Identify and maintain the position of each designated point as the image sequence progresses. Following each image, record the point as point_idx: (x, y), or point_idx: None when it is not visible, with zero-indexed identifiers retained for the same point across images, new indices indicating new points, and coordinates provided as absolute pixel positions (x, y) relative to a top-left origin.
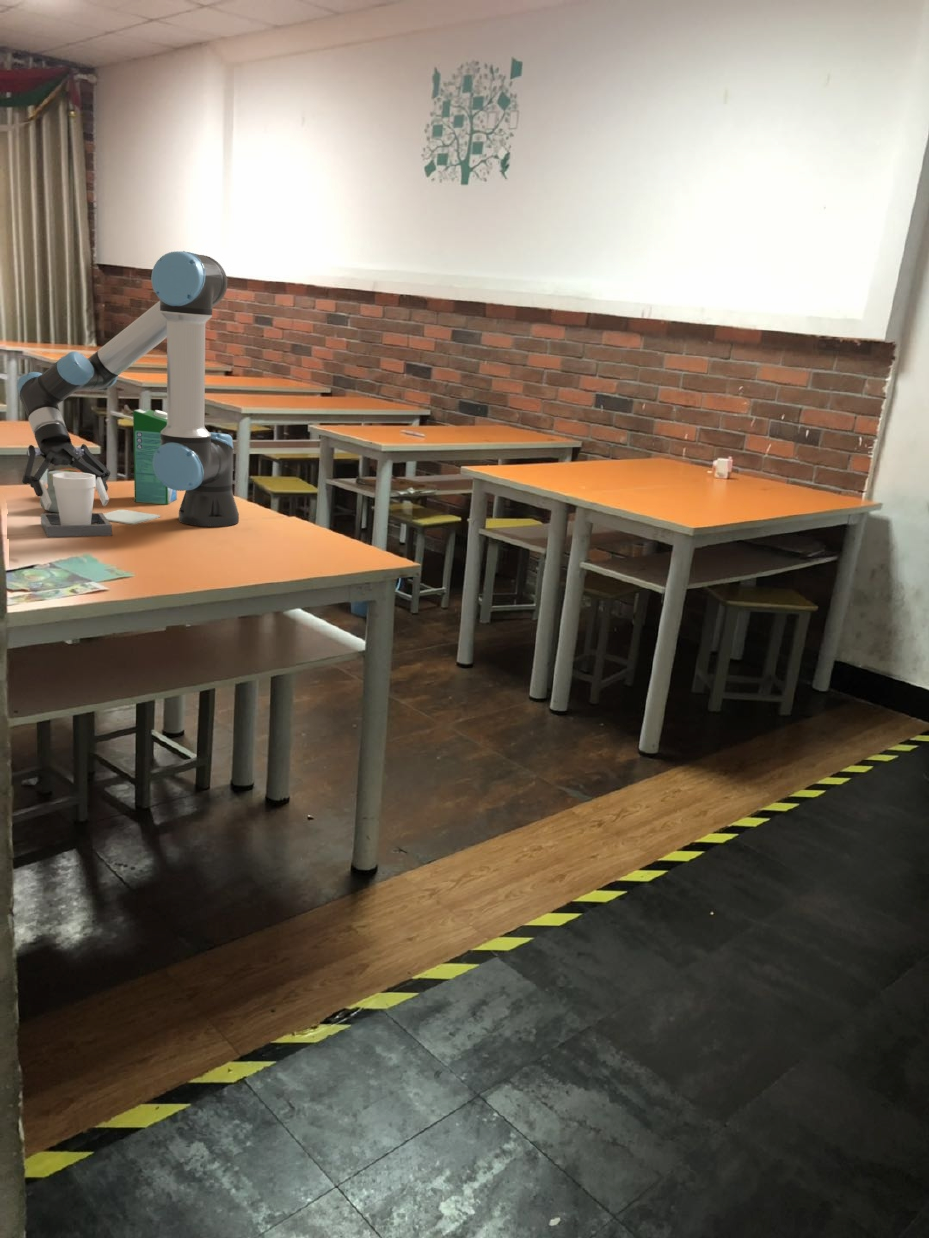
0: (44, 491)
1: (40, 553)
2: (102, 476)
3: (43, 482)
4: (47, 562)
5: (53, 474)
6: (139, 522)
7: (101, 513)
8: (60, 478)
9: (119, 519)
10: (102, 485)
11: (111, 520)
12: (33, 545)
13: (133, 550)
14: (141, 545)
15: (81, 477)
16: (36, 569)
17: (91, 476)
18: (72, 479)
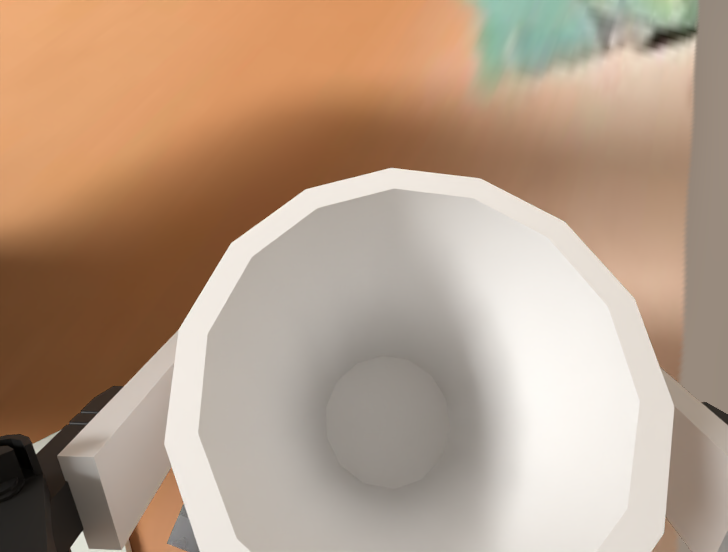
0: (669, 378)
1: (616, 136)
2: (27, 455)
3: (726, 447)
4: (612, 57)
5: (652, 522)
6: (40, 442)
7: (181, 522)
8: (602, 267)
9: (83, 538)
10: (140, 381)
11: (128, 546)
12: (622, 230)
13: (344, 78)
14: (290, 114)
15: (259, 524)
16: (649, 19)
17: (215, 353)
18: (500, 190)
